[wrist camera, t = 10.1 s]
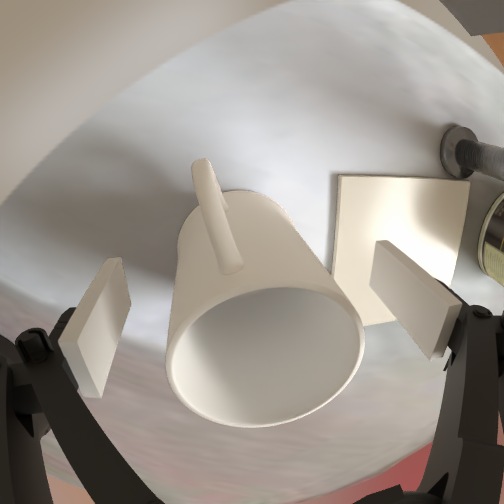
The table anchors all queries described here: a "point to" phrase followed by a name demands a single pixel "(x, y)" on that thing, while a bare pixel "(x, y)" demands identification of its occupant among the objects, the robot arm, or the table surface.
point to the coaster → (395, 231)
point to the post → (470, 155)
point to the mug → (254, 314)
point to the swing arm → (481, 20)
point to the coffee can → (493, 242)
